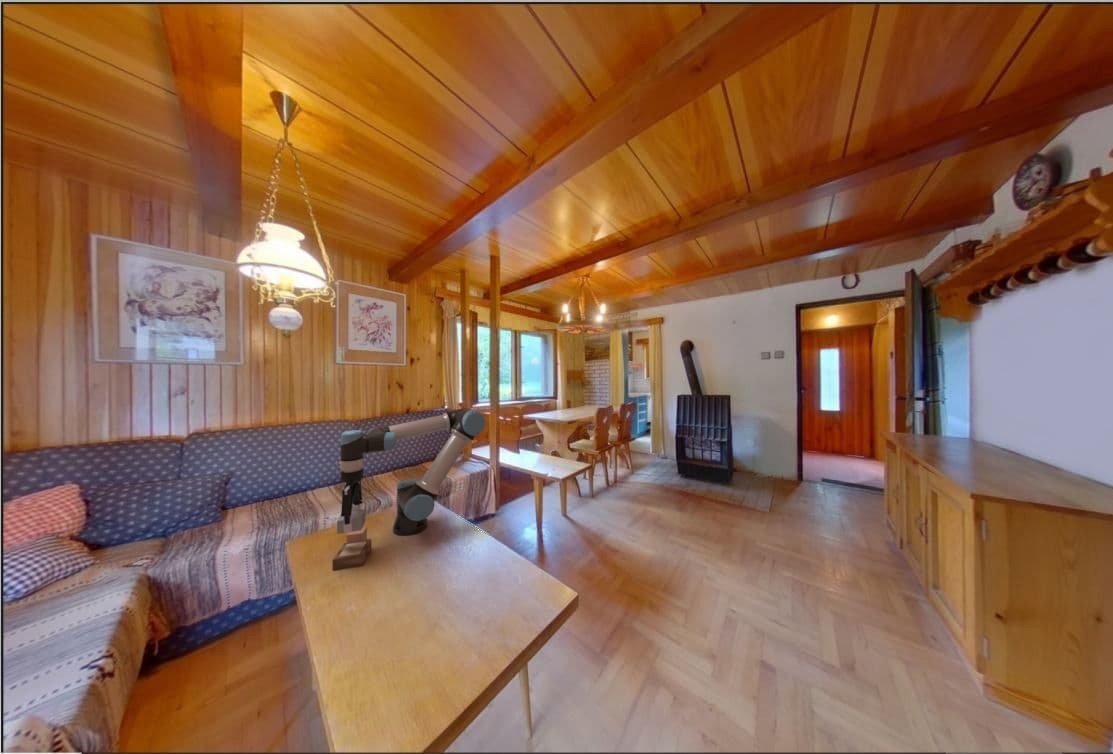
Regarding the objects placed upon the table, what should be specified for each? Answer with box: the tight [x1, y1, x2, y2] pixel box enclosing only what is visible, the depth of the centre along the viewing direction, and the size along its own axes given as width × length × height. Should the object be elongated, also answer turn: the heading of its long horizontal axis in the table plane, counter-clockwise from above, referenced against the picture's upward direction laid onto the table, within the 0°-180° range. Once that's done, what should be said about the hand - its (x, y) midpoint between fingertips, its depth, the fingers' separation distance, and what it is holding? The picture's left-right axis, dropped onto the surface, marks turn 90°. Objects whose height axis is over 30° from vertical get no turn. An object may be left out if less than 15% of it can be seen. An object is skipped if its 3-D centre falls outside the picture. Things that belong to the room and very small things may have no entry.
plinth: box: [332, 539, 372, 571], centre depth 123 cm, size 12×10×4 cm
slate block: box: [336, 508, 366, 535], centre depth 123 cm, size 8×8×5 cm
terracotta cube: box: [346, 526, 368, 543], centre depth 134 cm, size 6×6×6 cm
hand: (352, 525), depth 123 cm, fingers closed on slate block, 8 cm apart
